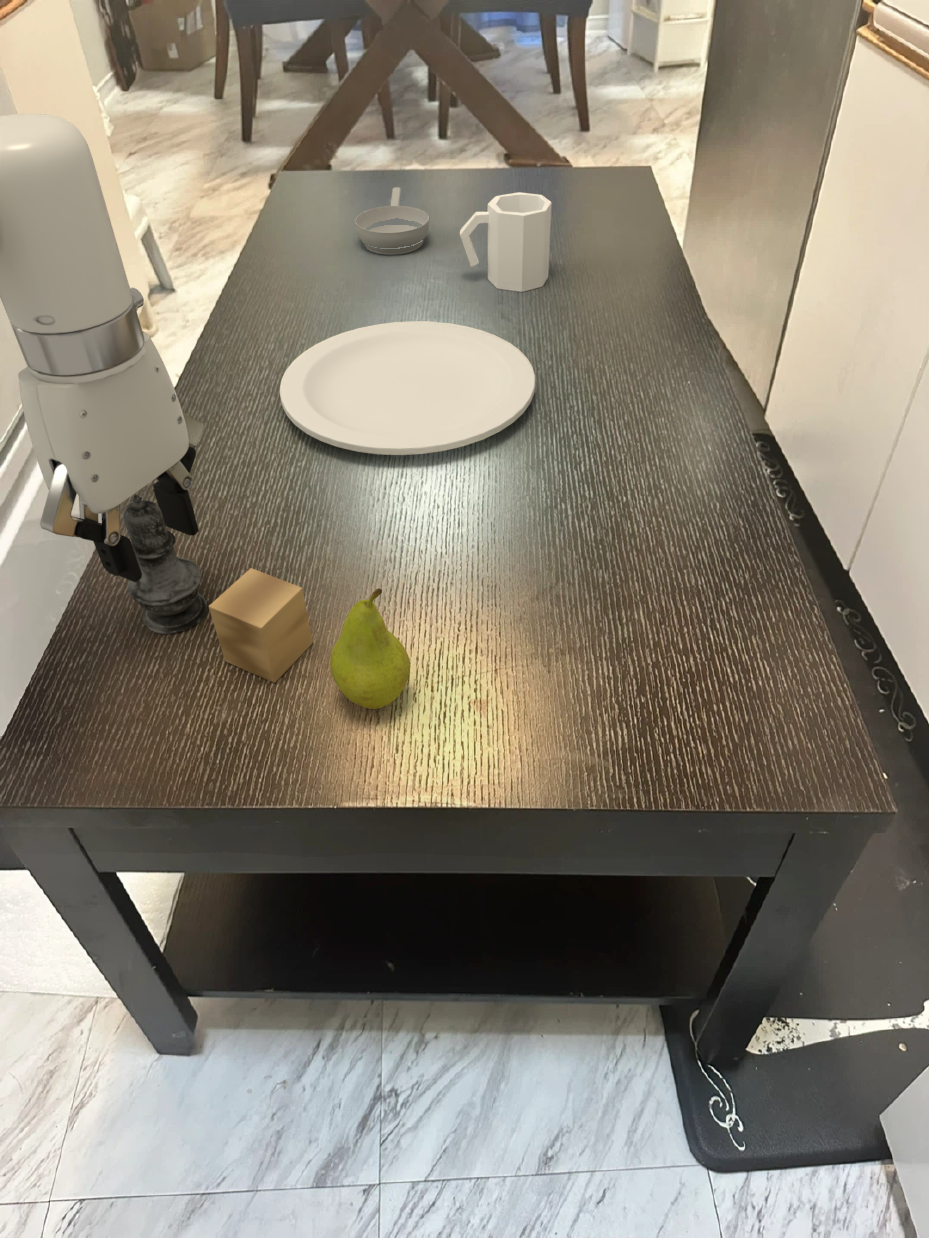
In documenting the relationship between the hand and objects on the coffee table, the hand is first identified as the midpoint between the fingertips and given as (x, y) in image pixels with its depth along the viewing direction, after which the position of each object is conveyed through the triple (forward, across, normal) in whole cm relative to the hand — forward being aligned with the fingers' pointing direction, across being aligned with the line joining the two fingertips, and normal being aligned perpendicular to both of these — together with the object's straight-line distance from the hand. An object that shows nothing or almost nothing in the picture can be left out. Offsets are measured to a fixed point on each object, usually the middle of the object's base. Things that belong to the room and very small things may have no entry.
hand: (154, 549), depth 70 cm
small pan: (+7, -79, -28) cm, 84 cm away
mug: (+7, -72, -6) cm, 73 cm away
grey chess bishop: (+7, 0, 0) cm, 7 cm away
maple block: (+7, 0, +10) cm, 12 cm away
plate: (+7, -39, -1) cm, 40 cm away
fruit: (+7, 0, +20) cm, 21 cm away
